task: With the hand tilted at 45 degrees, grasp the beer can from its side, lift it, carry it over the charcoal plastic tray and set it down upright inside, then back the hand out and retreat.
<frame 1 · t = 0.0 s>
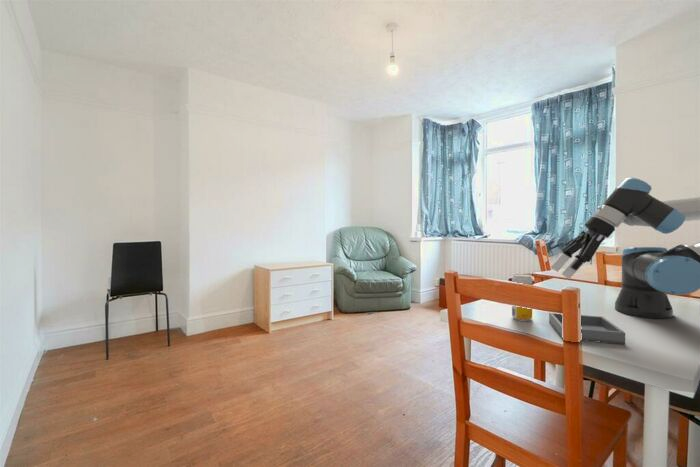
hand: (559, 272, 109), 15 cm above the table, tool tilted 35°, fingers open, 13 cm apart
tray: (583, 332, 95), on the table
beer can: (521, 319, 109), on the table
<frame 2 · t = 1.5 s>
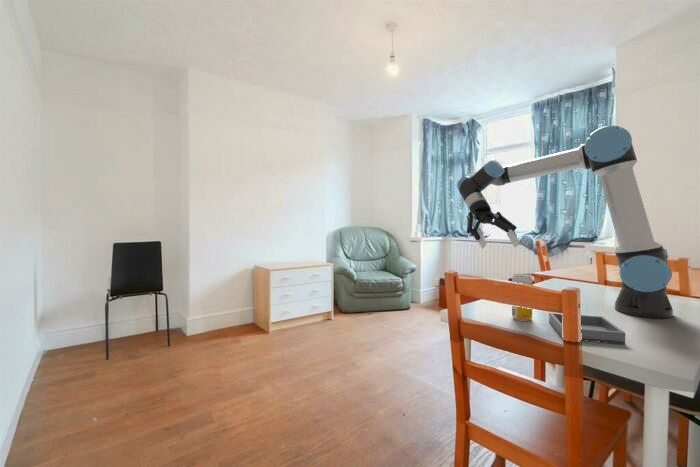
hand: (501, 245, 118), 24 cm above the table, tool tilted 45°, fingers open, 13 cm apart
nothing on the table moved.
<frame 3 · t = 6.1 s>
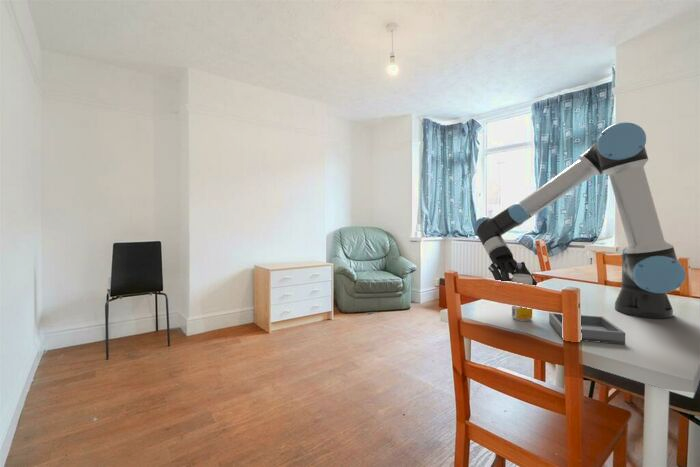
hand: (529, 306, 105), 5 cm above the table, tool tilted 45°, fingers closed on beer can, 6 cm apart
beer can: (521, 319, 109), on the table, touching gripper
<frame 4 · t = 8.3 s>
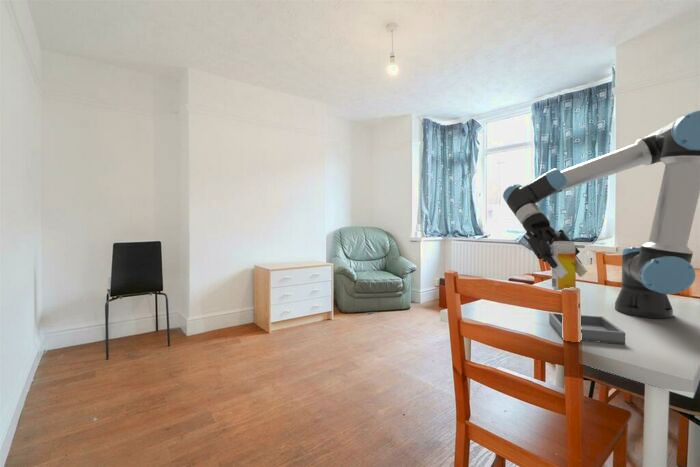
hand: (573, 274, 95), 17 cm above the table, tool tilted 45°, fingers closed on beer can, 6 cm apart
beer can: (563, 290, 99), point 12 cm above the table, touching gripper
when the fingers open (8 cm above the table, at t = 10.8 s): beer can drops 1 cm, resting on tray.
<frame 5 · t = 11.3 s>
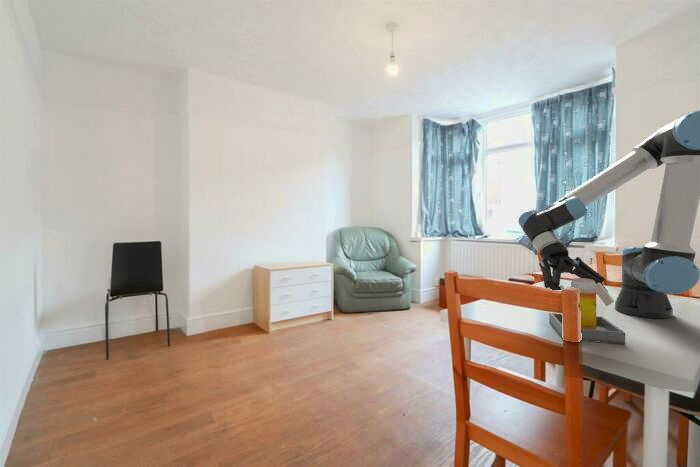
hand: (591, 305, 93), 9 cm above the table, tool tilted 45°, fingers open, 12 cm apart
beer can: (583, 330, 96), point 1 cm above the table, touching tray
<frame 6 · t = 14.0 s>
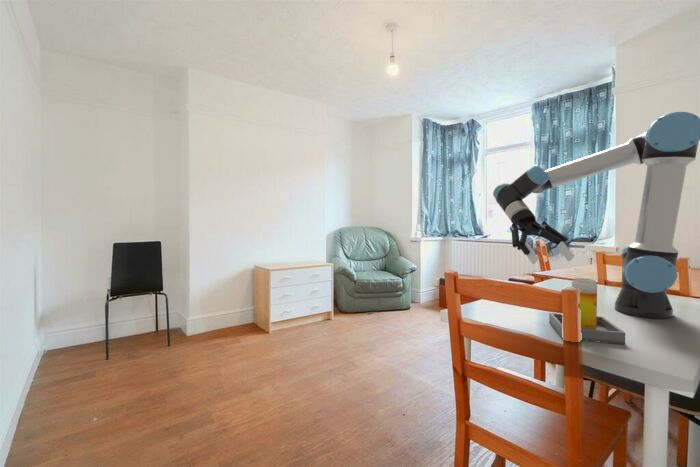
hand: (553, 260, 105), 20 cm above the table, tool tilted 45°, fingers open, 13 cm apart
nothing on the table moved.
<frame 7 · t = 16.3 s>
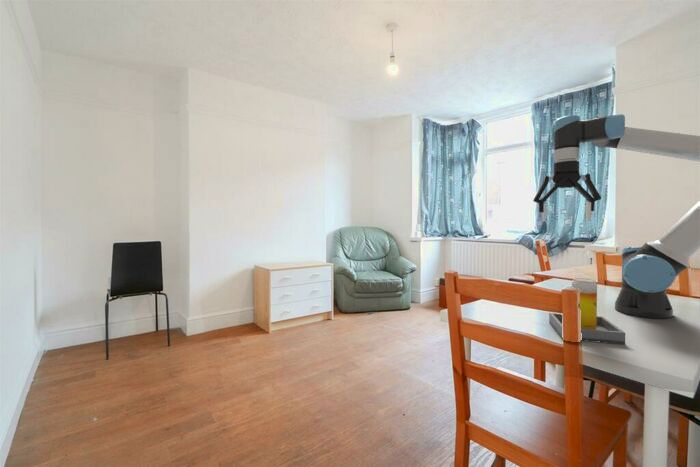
hand: (565, 221, 115), 33 cm above the table, tool pointing down, fingers open, 13 cm apart
nothing on the table moved.
at the end: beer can inside the target area on the tray (0.2 cm from its centre), point 0.6 cm above the tray's base; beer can tilted 0°; the gripper is holding nothing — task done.
